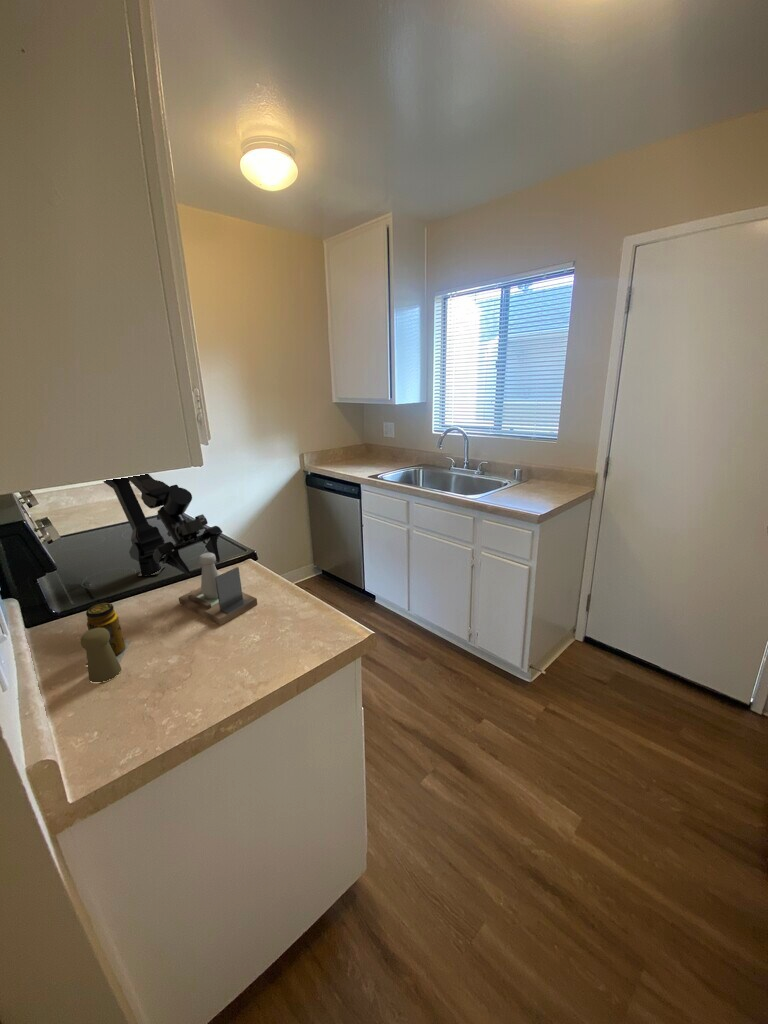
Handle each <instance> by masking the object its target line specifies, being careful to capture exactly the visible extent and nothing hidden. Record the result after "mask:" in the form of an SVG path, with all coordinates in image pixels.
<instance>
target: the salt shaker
mask: <svg viewBox="0 0 768 1024" xmlns="http://www.w3.org/2000/svg"><path fill="white" fill-rule="evenodd" d="M215 562H217V561H216V557H215V555H214V554H213V553H209V552H204V553H202V554H200V555H199V557H198V563H199V564H200V565H201V581H200V582H201V584H200V587H201V592H202V593H203V595H204V596H205V597H206V598H207V599H209V600H211V599H216V598H218V594H217V588H216V582H215V577H217V576H219V575H220V574H219V572H218V570H217V568H216V564H215Z"/></svg>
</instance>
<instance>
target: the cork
mask: <svg viewBox="0 0 768 1024" xmlns="http://www.w3.org/2000/svg"><path fill="white" fill-rule="evenodd" d="M109 640H110V634H109V631H108V630H107V629H105V628H94V629H91V630H86V632H84V633H83V634H82V635H81V637H80V641H79V643H80V646H81V647H82V649H83V650H85V653H86V661H87V662H86V663H87V664H88V667H87V671H88V674H87V675H88V680H90V681H92V682H103V681H107V680H109V679H112V678H114V677H115V676H116V675H118V676H119V674H120V673H121V672H120V671H122V666H121V664H120V663H119V662H118V660H117V658H116V656H115V654H114V652H113V650H112V648H111V646H110V644H109ZM119 672H120V673H119ZM116 677H117V676H116ZM116 677H115V678H116ZM115 678H114V679H115ZM112 680H113V679H112ZM90 681H89V682H90ZM107 682H108V681H107Z"/></svg>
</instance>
